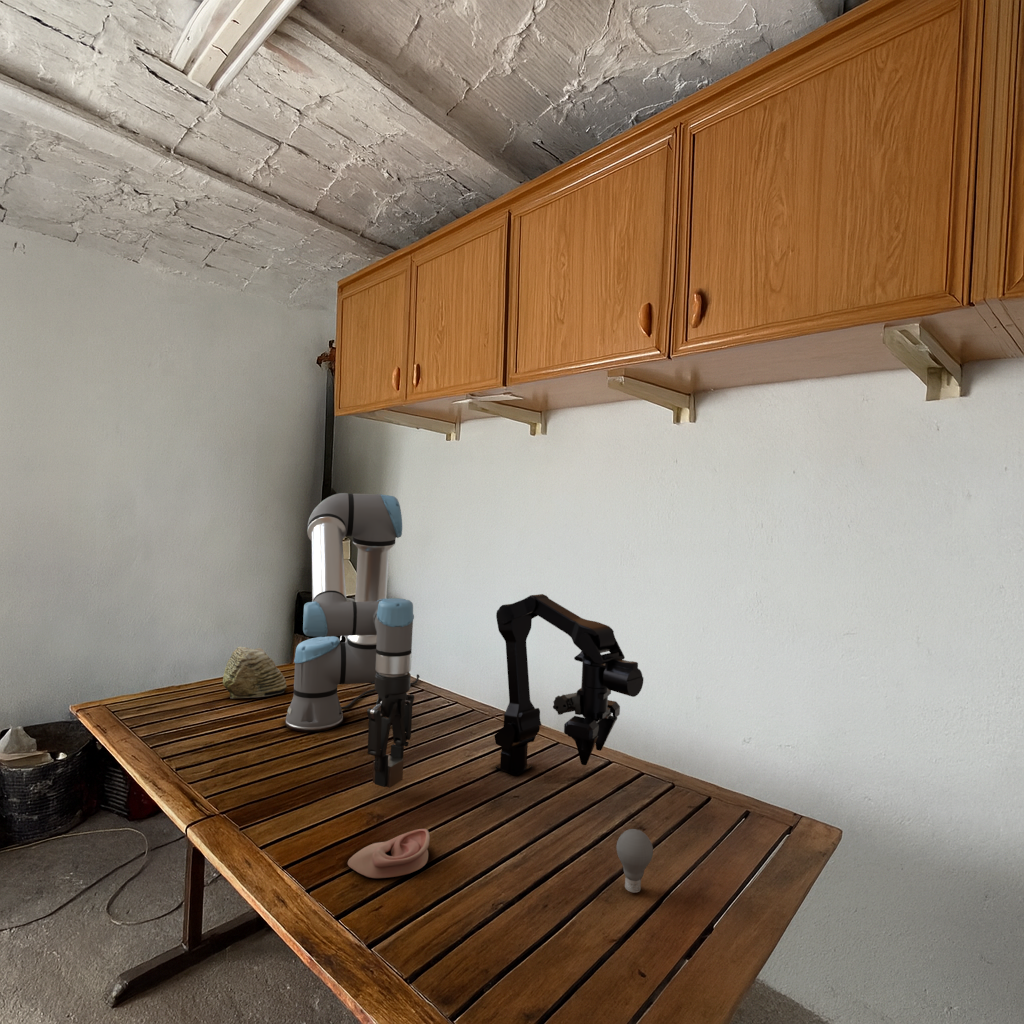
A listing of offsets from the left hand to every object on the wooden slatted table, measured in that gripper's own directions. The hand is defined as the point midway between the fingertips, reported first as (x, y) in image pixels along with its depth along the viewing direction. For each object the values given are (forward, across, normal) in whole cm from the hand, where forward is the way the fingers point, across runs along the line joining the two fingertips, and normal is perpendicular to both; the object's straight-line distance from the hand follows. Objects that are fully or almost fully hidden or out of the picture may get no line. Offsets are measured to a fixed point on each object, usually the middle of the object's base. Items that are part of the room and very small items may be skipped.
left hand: (388, 780), depth 136 cm
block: (0, 0, 0) cm, 0 cm away
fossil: (+4, -31, -76) cm, 83 cm away
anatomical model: (+3, +20, +16) cm, 25 cm away
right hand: (-7, -19, +39) cm, 44 cm away
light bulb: (+3, +6, +55) cm, 56 cm away
